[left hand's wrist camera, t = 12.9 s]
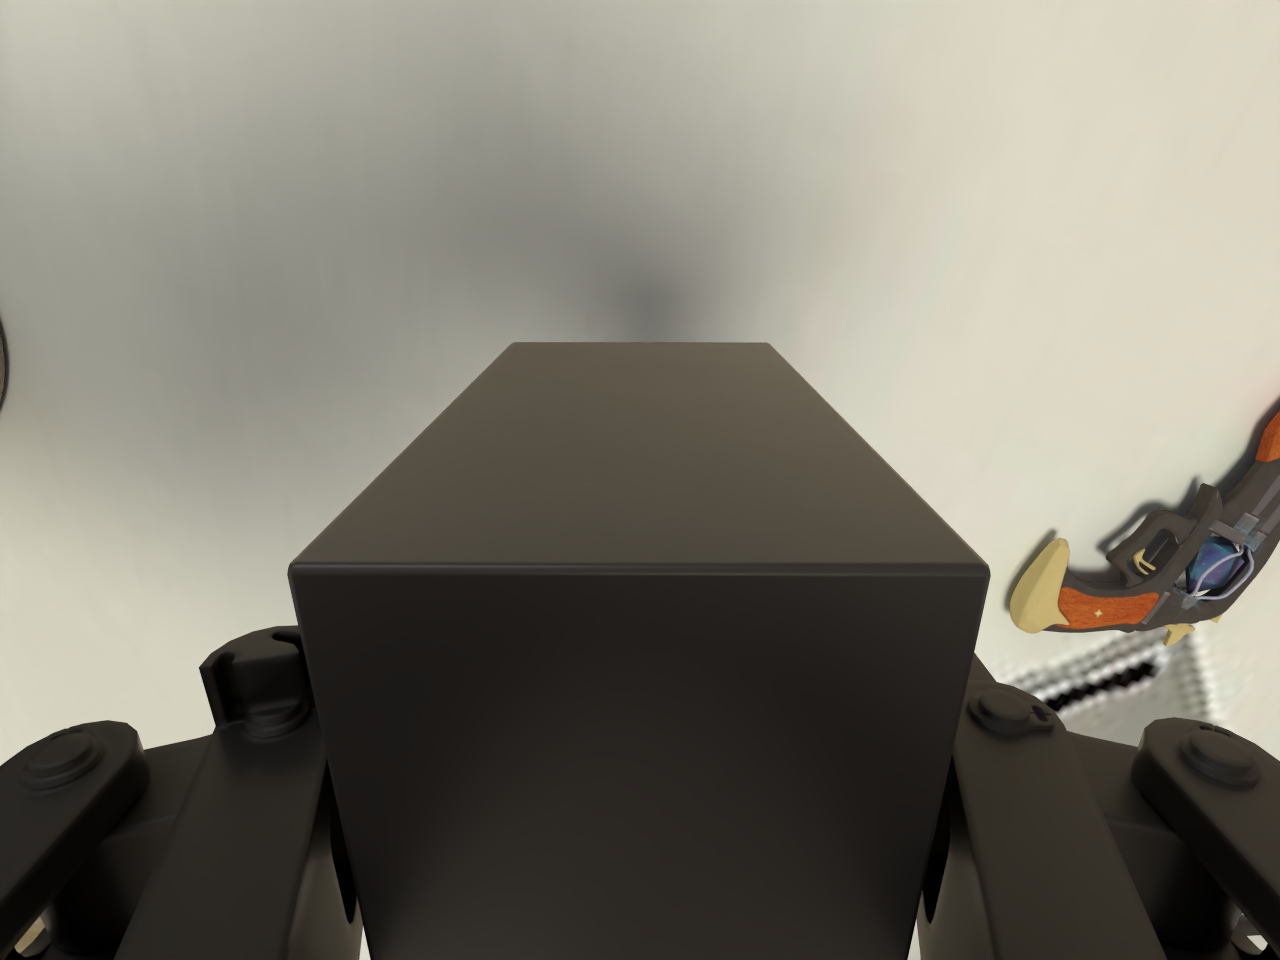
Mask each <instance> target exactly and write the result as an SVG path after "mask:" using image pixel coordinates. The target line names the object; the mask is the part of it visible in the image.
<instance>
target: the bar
mask: <svg viewBox="0 0 1280 960" xmlns="http://www.w3.org/2000/svg"><path fill="white" fill-rule="evenodd" d="M287 575H288V580H289V584H290V589H291V594H292V598H293V603H294V607H295V612H296V617H297V621H298V626H299V631H300V635H301V640H302V644H303V649H304V654H305V658H306V663H307V668H308V672H309V677H310V681H311V686H312V691H313V695H314V700H315V705H316V709H317V714H318V718H319V723H320V728H321V732H322V737H323V742H324V746H325V751H326V755H327V760H328V765H329V769H330V774H331V778H332V783H333V788H334V792H335V797H336V802H337V806H338V811H339V815H340V820H341V825H342V829H343V834H344V839H345V843H346V848H347V852H348V857H349V862H350V866H351V871H352V876H353V880H354V885H355V889H356V894H357V899H358V903H359V908H360V913H361V917H362V922H363V926H364V931H365V936H366V940H367V945H368V949H369V954H370V959H371V960H907V959H908V954H909V950H910V945H911V940H912V936H913V931H914V927H915V922H916V917H917V913H918V908H919V904H920V899H921V894H922V890H923V885H924V880H925V876H926V871H927V867H928V862H929V857H930V853H931V848H932V844H933V839H934V834H935V830H936V825H937V821H938V816H939V811H940V807H941V802H942V797H943V793H944V788H945V784H946V779H947V774H948V770H949V765H950V761H951V756H952V751H953V747H954V742H955V738H956V733H957V728H958V724H959V719H960V714H961V710H962V705H963V701H964V696H965V691H966V687H967V682H968V678H969V673H970V668H971V664H972V659H973V655H974V650H975V645H976V641H977V636H978V631H979V627H980V622H981V618H982V613H983V608H984V604H985V599H986V595H987V590H988V585H989V581H990V576H991V575H990V569H989V566H988V564H987V563H986V562H985V561H984V560H983V559H982V558H981V557H980V556H979V555H978V554H977V553H976V552H975V551H974V550H973V549H972V548H971V547H970V546H969V545H968V544H967V543H966V542H965V541H964V540H963V539H962V538H961V537H960V536H959V535H958V534H957V533H956V532H955V531H954V530H953V529H952V528H951V527H950V526H949V525H948V524H947V523H946V522H945V521H944V520H943V519H942V518H941V517H940V516H939V515H938V514H937V513H936V512H935V511H934V510H933V509H932V508H931V507H930V506H929V505H928V504H927V503H926V502H925V501H924V500H923V499H922V498H921V497H920V496H919V495H918V494H917V493H916V491H915V490H914V489H913V488H912V487H911V486H910V485H909V484H908V483H907V482H906V481H905V480H904V479H903V478H902V477H901V476H900V475H899V474H898V473H897V472H896V471H895V470H894V469H893V468H892V467H891V466H890V465H889V464H888V463H887V462H886V461H885V460H884V459H883V458H882V457H881V456H880V455H879V454H878V453H877V452H876V451H875V450H874V449H873V448H872V447H871V446H870V445H869V444H868V443H867V442H866V441H865V440H864V439H863V438H862V437H861V436H860V435H859V434H858V433H857V432H856V431H855V430H854V429H853V428H852V427H851V426H850V425H849V424H848V423H847V422H846V421H845V420H844V419H843V418H842V417H841V416H840V415H839V414H838V413H837V412H836V411H835V410H834V409H833V408H832V407H831V406H830V405H829V404H828V403H827V402H826V401H825V400H824V399H823V398H822V396H821V395H820V394H819V393H818V392H817V391H816V390H815V389H814V388H813V387H812V386H811V385H810V384H809V383H808V382H807V381H806V380H805V379H804V378H803V377H802V376H801V375H800V374H799V373H798V372H797V371H796V370H795V369H794V368H793V367H792V366H791V365H790V364H789V363H788V362H787V361H786V360H785V359H784V358H783V357H782V356H781V355H780V354H779V353H778V352H777V351H776V350H775V349H774V348H773V347H772V346H771V345H770V344H769V343H598V342H514V343H512V344H511V345H510V346H509V347H508V348H507V349H506V350H505V351H504V352H503V353H502V354H501V355H500V356H499V357H498V358H497V359H496V360H495V361H494V362H493V363H492V364H491V365H490V366H489V367H488V368H487V369H485V370H484V371H483V372H482V373H481V374H480V375H479V376H478V377H477V378H476V379H475V380H474V381H473V382H472V383H471V384H470V385H469V386H468V387H467V388H466V389H465V390H464V391H463V392H462V393H461V394H460V395H459V396H458V397H457V398H456V399H455V400H454V401H453V402H452V403H451V404H450V405H449V406H448V407H447V408H446V409H445V410H444V411H443V412H442V413H441V414H440V415H439V416H438V417H437V418H436V419H435V420H434V421H433V422H432V423H431V424H430V425H429V426H428V427H427V428H426V429H425V430H424V431H423V432H422V433H421V434H420V435H419V436H418V437H417V438H416V439H415V440H414V441H413V442H412V443H411V444H410V445H409V446H408V447H407V448H406V449H405V450H404V451H403V452H402V453H401V454H400V455H399V456H398V457H397V458H396V459H395V460H394V461H393V462H392V463H391V464H390V465H389V466H388V467H387V468H386V469H385V470H384V471H383V472H382V473H381V474H380V475H379V476H378V477H377V478H376V479H375V480H374V481H373V482H372V483H371V484H370V485H369V486H368V487H367V488H366V489H365V490H364V491H363V492H362V493H361V494H360V495H359V496H358V497H357V498H356V499H355V500H354V501H353V502H352V503H351V504H350V505H349V506H348V507H347V508H346V509H345V510H344V511H343V512H342V513H341V514H340V515H339V516H338V517H336V518H335V519H334V520H333V521H332V522H331V523H330V524H329V525H328V526H327V527H326V528H325V529H324V530H323V531H322V532H321V533H320V534H319V535H318V536H317V537H316V538H315V539H314V540H313V541H312V542H311V543H310V544H309V545H308V546H307V547H306V548H305V549H304V550H303V551H302V552H301V553H300V554H299V555H298V556H297V557H296V558H295V559H294V560H293V561H292V562H291V563H290V565H289V568H288V574H287Z"/></svg>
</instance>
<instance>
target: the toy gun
mask: <svg viewBox="0 0 1280 960" xmlns="http://www.w3.org/2000/svg"><path fill="white" fill-rule="evenodd" d="M1255 459H1256V461H1255V463H1254V465H1253V466H1252V467H1251V468H1250V469H1249V471H1248V472H1247V473H1246V474H1245V475H1244V477H1243V478H1242V479H1241V480H1240V482H1239V483H1238V484H1237V485H1236V486H1235V487H1234V488H1233V489H1232V490H1231V491H1230V492H1229V493H1228V494H1227V495H1226V496H1224V497H1223V498H1221V495H1220V492H1219V489H1218V488H1216V487H1213V486H1210V485H1207V484H1205V483H1202V484H1201V486H1200V489H1199V491H1198V494H1197V497H1196V499H1195V501H1194V504H1193V505H1192V507H1191V509H1190V510H1189V512H1188V514H1187V515H1186V517H1182V516H1179V515H1177V514H1175V513H1173V512H1170V511H1155V512H1152V513H1150V514H1149V515H1148V516H1147V517H1146V518H1145V520H1144V521H1143V522H1142V524H1141V525H1140V526H1139V527H1138V528H1137V530H1136V531H1135V532H1134V533H1133V534H1132V535H1131V536H1130V537H1128V538H1127V539H1126V540H1125V541H1124V542H1122V543H1121V544H1120V545H1118V546H1117V547H1116V548H1114V549H1113V550H1111V551H1110V552H1109V553H1108V554H1107V555H1106V559H1107V560H1108V561H1109V562H1110V563H1112V564H1113V565H1114V566H1115V567H1116V568H1117V569H1118V570H1119V571H1120V573H1121V579H1120V581H1117V582H1107V583H1105V582H1089V581H1082V580H1079V579H1077V578H1076V577H1074V576H1073V575H1072V574H1071V573H1070V572H1069V571H1068V568H1067V564H1068V560H1069V553H1070V551H1069V546H1068V542H1067V541H1066V539H1062V538H1058V539H1056V540H1054V541H1051V542H1050V543H1049V544H1048V545H1047V546H1046V548H1045V549H1044V550H1043V551H1042V552H1041V553H1040V554H1039V555H1038V557H1037V558H1036V559H1035V560H1034V562H1033V563H1032V564H1031V565H1030V567H1029V568H1028V569H1027V570H1026V572H1025V573H1024V574H1023V576H1022V577H1021V579H1020V581H1019V583H1018V584H1017V586H1016V588H1015V590H1014V592H1013V595H1012V597H1011V601H1010V616H1011V619H1012V621H1013V622H1014V624H1015V625H1016V627H1018V628H1019V629H1021V630H1023V631H1025V632H1028V633H1038V632H1040V631H1042V630H1044V631H1054V632H1068V633H1082V632H1095V631H1106V630H1120V631H1123V632H1126V633H1130V632H1133V631H1135V630H1136V631H1147V630H1152V629H1155V628H1158V627H1162V626H1164V627H1166V628H1167V629H1168V633H1167V635H1166V637H1165V639H1164V642H1163V644H1164V645H1165V646H1170V645H1173V644H1175V643H1176V642H1177V641H1179V640H1180V639H1181V638H1182V637H1183V636H1184V635H1185V634H1187V633H1190V632H1192V631H1194V630H1195V628H1194V627H1193V626H1191V625H1189V624H1193V623H1197V622H1199V621H1204V620H1209V619H1210V620H1212V621H1214V622H1216V623H1217V622H1218V620H1219V619H1220V617H1221V616H1222V614H1223V613H1224V612H1225V611H1226V610H1227V609H1228V608H1229V607H1230V606H1231V605H1232V604H1233V603H1234V602H1235V601H1236V600H1237V598H1238V597H1239V596H1240V595H1241V594H1242V592H1243V591H1244V590H1245V589H1246V588H1247V586H1248V585H1249V584H1250V583H1251V582H1252V580H1253V579H1254V578H1255V577H1256V576H1257V574H1258V573H1259V572H1260V570H1261V569H1262V568H1263V566H1264V565H1265V564H1266V562H1267V561H1268V559H1269V558H1270V556H1271V554H1272V553H1273V551H1274V549H1275V548H1276V546H1277V544H1278V542H1279V540H1280V411H1279V412H1278V413H1277V414H1276V415H1275V417H1274V418H1273V419H1272V420H1271V421H1270V423H1269V424H1268V425H1267V427H1266V428H1265V430H1264V432H1263V436H1262V439H1261V442H1260V445H1259V448H1258V451H1257V454H1256V457H1255ZM1162 529H1165V530H1166V532H1167V534H1168V537H1169V539H1168V541H1167V542H1166V543H1165V544H1164V546H1163V547H1162V548H1161V549H1160V551H1159V552H1158V553H1157V555H1156V556H1155V557H1154V558H1153V560H1152V561H1151V562H1150V563H1147V562H1146V561H1144V560H1143V559H1142V556H1143V553H1144V551H1145V549H1144V548H1143V547H1144V546H1146V545H1147V544H1148V543H1149V542H1150V541H1151V540H1152V539H1153V538H1154V537H1155V536H1156V534H1157V533H1158V532H1159V531H1160V530H1162ZM1211 532H1213V533H1215V534H1217V535H1219V536H1221V537H1209V535H1210V534H1211ZM1238 545H1239V550H1240V551H1239V552H1238V551H1237V549H1236V547H1235V546H1238ZM1131 557H1132V558H1133V561H1134V563H1135V565H1136V567H1137V568H1138V569H1139V570H1140V571H1141V572H1139V573H1137V574H1134V573H1132V572H1131V570H1130V569H1129V567H1128V565H1127V561H1128V559H1130V558H1131ZM1139 561H1140V562H1141V563H1142V564H1144V565H1145V566H1147V567H1146V568H1145V569H1142V568H1141V567H1140V565H1139ZM1185 568H1186V587H1180V588H1178V587H1179V584H1178V581H1177V579H1178V577H1179V576H1180V575H1181V573H1182V572H1183V571H1184V569H1185ZM1174 583H1175V586H1174V585H1173V584H1174ZM1182 589H1187V592H1185V591H1183V590H1182ZM1209 589H1211V590H1209ZM1204 590H1209V591H1208V592H1207V593H1205V594H1203V595H1201V596H1196V597H1195V596H1194V595H1195V594H1196V593H1197V592H1200V591H1204ZM1190 593H1191V594H1190Z"/></svg>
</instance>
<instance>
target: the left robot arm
mask: <svg viewBox="0 0 1280 960" xmlns="http://www.w3.org/2000/svg"><path fill="white" fill-rule="evenodd" d="M4 376H5V364H4V352H3V345H2V340H1V336H0V401H1V397H2V392H3V387H4ZM199 670H200V673H201V677H202V680H203V684H204V687H205V690H206V694H207V697H208V701H209V704H210V708H211V711H212V715H213V718H214V721H215V725H216V727H215V729H214V732H213V734H211V735H208V736H204V737H200V738H197V739H192V740H187V741H183V742H178V743H173V744H169V745H164V746H159V747H155V748H150V749H146V750H143V747H142V744H141V741H140V738H139V735H138V733H137V731H136V730H135V729H134V728H132V727H131V726H130V725H129V724H127V723H124V722H116V721H109V720H106V721H99V722H92V723H84V724H80V725H77V726H73V727H70V728H68V729H63V730H60V731H58V732H55V733H52V734H51V735H49V736H47V737H45V738H43V739H41V740H39V741H37V742H35V743H33V744H31V745H29V746H27V747H26V748H24V749H23V750H22V751H20V752H19V753H17V754H16V755H15V756H13V757H12V758H10V759H9V760H8V761H6V762H5V763H4V764H2V765H1V766H0V960H359V956H360V947H361V938H362V929H363V922H362V917H361V913H360V908H359V903H358V899H357V894H356V889H355V885H354V880H353V876H352V871H351V866H350V862H349V857H348V852H347V848H346V843H345V839H344V834H343V829H342V825H341V820H340V815H339V811H338V806H337V802H336V797H335V792H334V788H333V783H332V778H331V774H330V769H329V765H328V760H327V755H326V751H325V746H324V742H323V737H322V732H321V728H320V723H319V718H318V714H317V709H316V705H315V700H314V695H313V691H312V686H311V681H310V677H309V672H308V668H307V663H306V658H305V654H304V649H303V644H302V640H301V635H300V631H299V626H276V627H271V628H267V629H263V630H258V631H254V632H251V633H248V634H246V635H244V636H241V637H239V638H236V639H234V640H231V641H229V642H228V643H226V644H225V645H223V646H222V647H220V648H219V649H217V650H216V651H214V652H213V653H211V654H210V655H209V656H208V657H207V659H206V660H205V661H204V662H203V663H202V664H201V666H200V667H199ZM1242 913H1243V914H1244V915H1245V916H1246V918H1247V919H1248V920H1249V921H1250V922H1251V924H1252V925H1253V926H1254V927H1255V928H1256V930H1257V931H1258V932H1259V933H1260V934H1261V936H1262V937H1263V938H1264V939H1265V940H1266V942H1267V943H1268V944H1267V946H1266V948H1265V949H1264V950H1263V951H1262V950H1260V949H1259V948H1258V947H1257V946H1256V945H1255V944H1254V943H1253V942H1252V941H1251V940H1250V939H1249V938H1248V937H1247V936H1246V935H1245V933H1244V932H1243V931H1242V930H1241V928H1240V927H1239V926H1238V925H1237V923H1238V921H1239V919H1240V917H1241V915H1242ZM39 916H40V917H41V919H42V922H43V924H44V926H45V927H44V928H43V930H42V931H41V932H40V933H39V935H38V936H37V937H36V938H35V939H34V941H33V942H32V943H31V944H30V945H28V946H27V947H26V948H25V949H24V950H23V951H22V952H21V953H19V952H17V951H16V949H15V945H16V944H17V943H18V942H19V941H20V939H21V938H22V937H23V936H24V934H25V933H26V932H27V931H28V930H29V928H30V927H31V926H32V925H33V924H34V922H35V921H36V920H37V919H38V917H39ZM916 918H917V927H918V936H919V945H920V954H921V960H1280V761H1279V760H1277V759H1276V758H1274V757H1273V756H1272V755H1270V754H1269V753H1267V752H1266V751H1265V750H1263V749H1262V748H1260V747H1259V746H1258V745H1256V744H1255V743H1253V742H1251V741H1249V740H1247V739H1245V738H1243V737H1241V736H1239V735H1237V734H1235V733H1233V732H1231V731H1229V730H1227V729H1224V728H1221V727H1219V726H1214V725H1212V724H1209V723H1205V722H1201V721H1197V720H1189V719H1182V718H1175V717H1174V718H1166V719H1159V720H1154V721H1153V722H1152V723H1151V724H1149V725H1148V726H1147V727H1146V728H1145V729H1144V732H1143V734H1142V737H1141V740H1140V743H1139V746H1138V747H1135V746H1130V745H1125V744H1121V743H1116V742H1112V741H1107V740H1102V739H1098V738H1093V737H1088V736H1084V735H1080V734H1076V733H1073V732H1069V731H1067V730H1066V728H1065V726H1064V724H1063V723H1062V722H1061V720H1060V719H1059V717H1058V716H1057V715H1056V713H1055V712H1054V711H1053V710H1052V709H1051V708H1050V707H1048V706H1047V705H1046V704H1044V703H1043V702H1042V701H1040V700H1039V699H1038V698H1036V697H1035V696H1033V695H1031V694H1029V693H1026V692H1024V691H1022V690H1020V689H1018V688H1016V687H1014V686H1010V685H1006V684H1002V683H998V682H996V681H995V679H994V678H993V677H992V675H991V674H990V673H989V671H988V670H987V669H986V667H985V666H984V665H983V663H982V662H981V661H980V659H979V658H978V657H977V656H976V654H975V653H974V655H973V659H972V664H971V668H970V673H969V678H968V682H967V687H966V691H965V696H964V701H963V705H962V710H961V714H960V719H959V724H958V728H957V733H956V738H955V742H954V747H953V751H952V756H951V761H950V765H949V770H948V774H947V779H946V784H945V788H944V793H943V797H942V802H941V807H940V811H939V816H938V821H937V825H936V830H935V834H934V839H933V844H932V848H931V853H930V857H929V862H928V867H927V871H926V876H925V880H924V885H923V890H922V894H921V899H920V904H919V908H918V913H917V917H916Z"/></svg>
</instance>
